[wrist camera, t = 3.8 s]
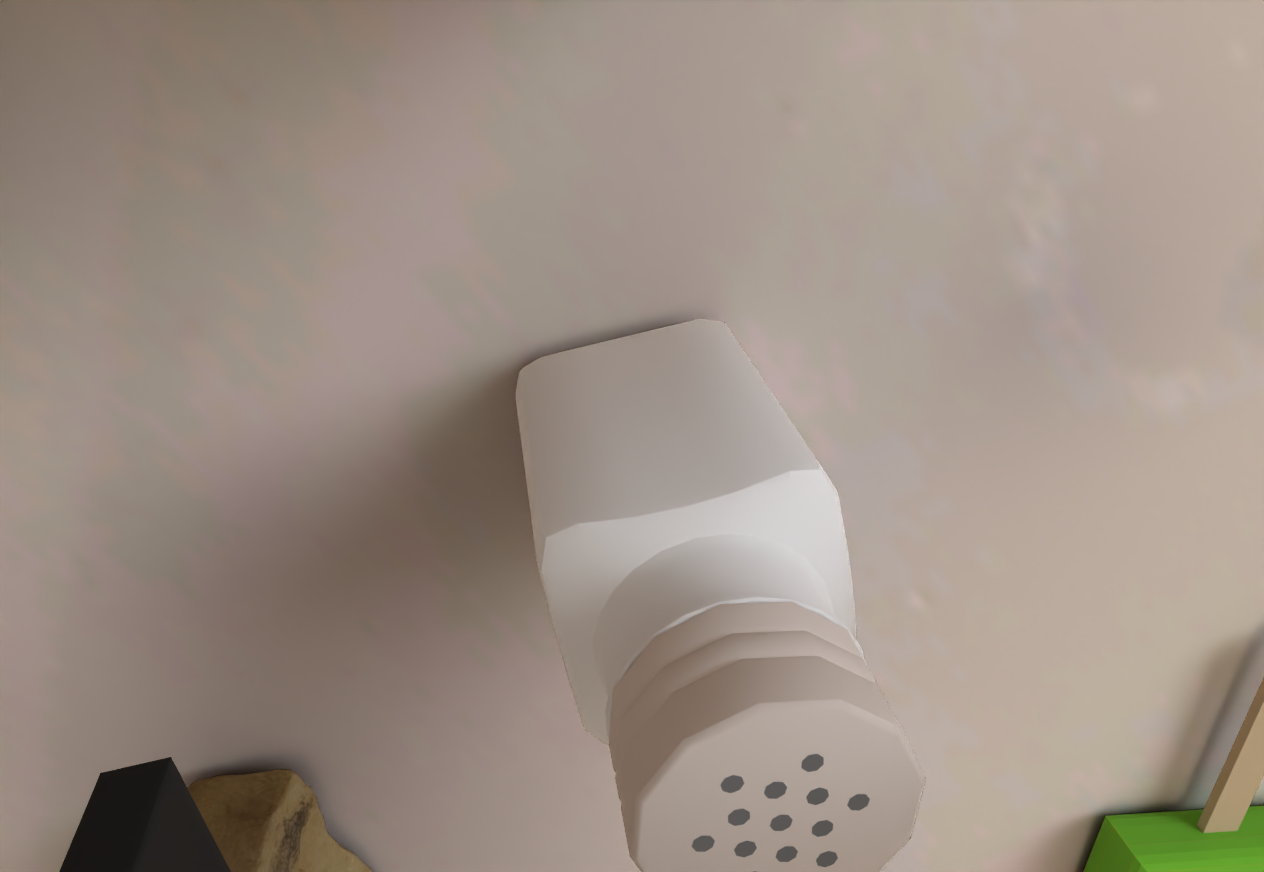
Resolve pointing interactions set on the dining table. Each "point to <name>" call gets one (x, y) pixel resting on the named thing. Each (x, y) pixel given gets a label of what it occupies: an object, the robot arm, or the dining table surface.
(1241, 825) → the popsicle
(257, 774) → the rock
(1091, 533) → the dining table surface
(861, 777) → the pepper shaker
